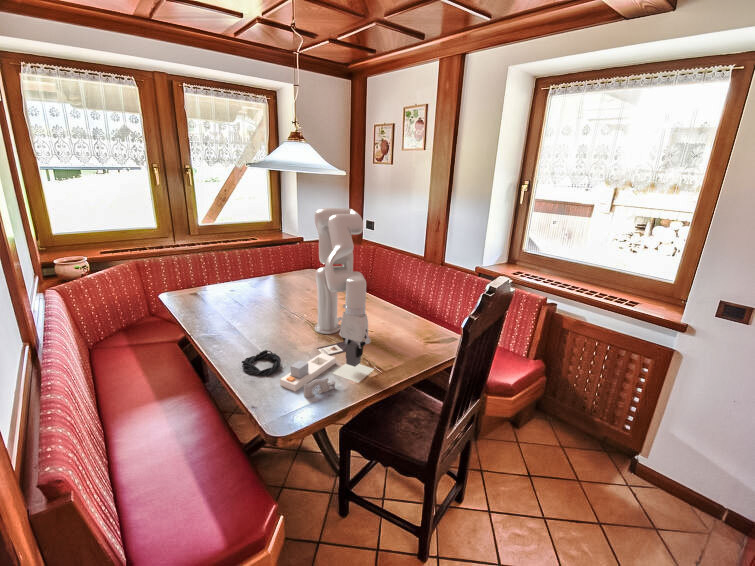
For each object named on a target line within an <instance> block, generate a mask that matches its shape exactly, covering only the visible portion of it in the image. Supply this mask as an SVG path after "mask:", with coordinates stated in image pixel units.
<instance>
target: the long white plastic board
mask: <svg viewBox="0 0 755 566" xmlns="http://www.w3.org/2000/svg"><path fill="white" fill-rule="evenodd" d="M305 362H306V363H308V374H307V375H305V376H304V377H302V378H301V379H297V378H294V377H292V376H291V372H289V373H287V374H286V375H284V376H283V377H280V379H279V383H280V384H279V385H280V387H283V388H286V389H288V390H290V391H293V392H297V391H298V390H300V389H302V387H303V385H306V384H309V383H311V382H312V381H313V380H315V378H317V377H318V376H319V375H321V374H323V373H324V372H325V371H327V370H328V369H329V368H331V367H333V366H334V365H335V364H336V357H335V356H333V355H331V356H329V355H326V354H323V353H321V352H320V353H319V354H318V355H316V356H315V357H313V358H311V359H310V360H307V361H305Z"/></svg>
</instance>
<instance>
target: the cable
mask: <svg viewBox="0 0 755 566" xmlns="http://www.w3.org/2000/svg"><path fill="white" fill-rule="evenodd" d="M262 359H268V360H269V361H270V362H271V363H273V365H272V367H268V368H265V369H262V370H261V369H260V368H258V367H257V366H256V365H255V364H254V362H255V361H257V360H262ZM281 362H282V359H281V357H280V356H279V355H278V354H277V353H273V352H272V351H271V350H268V349H265V350H262V351H260V352H259V353H256V354H254V355H252V356H250V357H246V358H244V360H241V364H242V368H243V370H244V372H245V373H246V374H247V375H248V374H250V375H252V376H257V377H260V376H261V377H268V376H269V375H271V374H275V373H276V372H277V371H278V369H279V368H280V367H281Z"/></svg>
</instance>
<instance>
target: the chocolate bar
mask: <svg viewBox="0 0 755 566" xmlns="http://www.w3.org/2000/svg"><path fill="white" fill-rule="evenodd" d="M352 341H353V340H351V342H352ZM316 349H317V351H319V352H320V354H321V353H323V354H326V355H329V356H335V355H338V354H339V355H340V354H343V353H346V344H345V341H344V340H343V341H340V342H336V343H332V344H327V345H324V346H320V347H316Z"/></svg>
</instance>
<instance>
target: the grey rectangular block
mask: <svg viewBox="0 0 755 566" xmlns="http://www.w3.org/2000/svg"><path fill="white" fill-rule="evenodd" d="M357 348H358V343H357V342H356V341H352V342H350V343H349V344H347V345H346V352H345V359H346V361H345V362H346V363H345V364H348V365H351V366H354V367H355V366H357V365H358V364H361V363H362V361H361V360H362V359H361V358H362V357H363V356H362V355H363V354H362V355H361V356H360V357H359V358H357Z"/></svg>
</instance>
